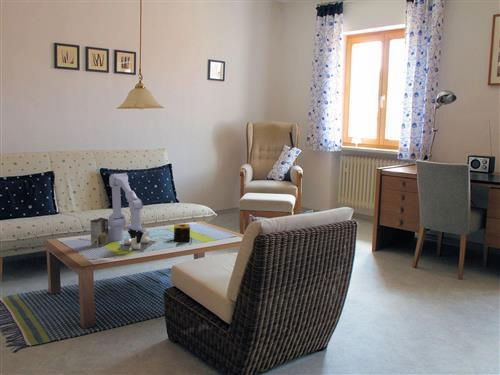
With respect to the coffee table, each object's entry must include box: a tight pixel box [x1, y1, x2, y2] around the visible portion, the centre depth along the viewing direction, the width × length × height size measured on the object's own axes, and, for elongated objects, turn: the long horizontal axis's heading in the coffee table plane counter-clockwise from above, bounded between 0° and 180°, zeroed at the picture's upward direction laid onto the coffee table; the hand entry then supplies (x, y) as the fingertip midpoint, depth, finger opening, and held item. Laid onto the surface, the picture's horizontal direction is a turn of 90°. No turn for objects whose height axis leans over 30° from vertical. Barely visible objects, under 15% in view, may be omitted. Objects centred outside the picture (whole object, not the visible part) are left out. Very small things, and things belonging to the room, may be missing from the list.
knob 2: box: [141, 231, 150, 243], centre depth 315 cm, size 6×5×6 cm
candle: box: [173, 223, 191, 243], centre depth 327 cm, size 10×10×10 cm
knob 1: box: [130, 237, 141, 249], centre depth 301 cm, size 6×5×6 cm
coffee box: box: [90, 217, 110, 248], centre depth 311 cm, size 9×6×16 cm
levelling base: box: [116, 238, 157, 253], centre depth 309 cm, size 16×24×4 cm
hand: (136, 242), depth 301 cm, fingers closed on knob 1, 4 cm apart
